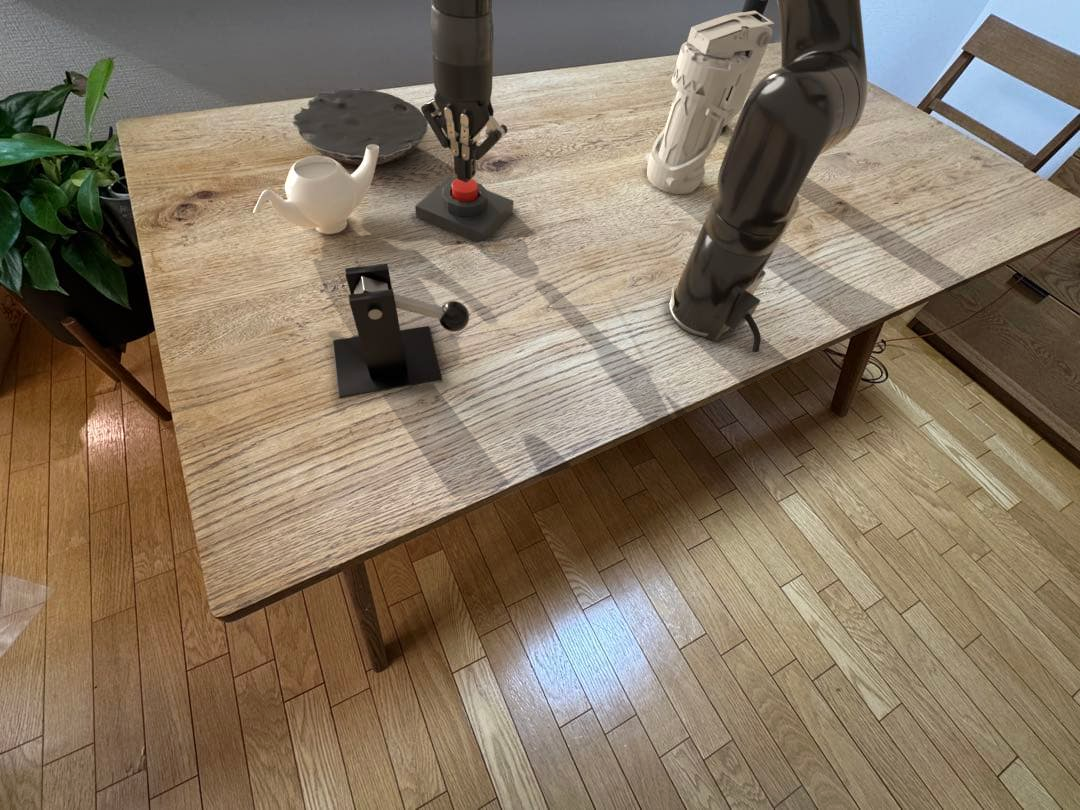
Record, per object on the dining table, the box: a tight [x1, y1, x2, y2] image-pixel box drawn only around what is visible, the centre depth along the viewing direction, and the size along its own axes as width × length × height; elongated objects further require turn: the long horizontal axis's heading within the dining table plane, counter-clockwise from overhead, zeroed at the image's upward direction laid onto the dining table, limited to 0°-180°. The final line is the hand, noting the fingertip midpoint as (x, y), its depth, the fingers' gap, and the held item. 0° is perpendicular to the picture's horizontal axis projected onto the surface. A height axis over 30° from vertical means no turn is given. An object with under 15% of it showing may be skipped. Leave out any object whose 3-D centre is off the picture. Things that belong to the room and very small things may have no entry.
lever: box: [354, 276, 470, 333], centre depth 58 cm, size 13×4×4 cm
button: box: [452, 178, 478, 202], centre depth 79 cm, size 4×4×2 cm
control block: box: [414, 175, 515, 243], centre depth 81 cm, size 12×10×4 cm
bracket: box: [332, 263, 443, 399], centre depth 59 cm, size 12×9×14 cm
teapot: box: [252, 144, 379, 235], centre depth 74 cm, size 10×20×9 cm, turn 134°
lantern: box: [643, 11, 775, 195], centre depth 85 cm, size 13×10×25 cm
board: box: [292, 88, 429, 166], centre depth 89 cm, size 22×22×5 cm
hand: (465, 178), depth 78 cm, fingers closed
